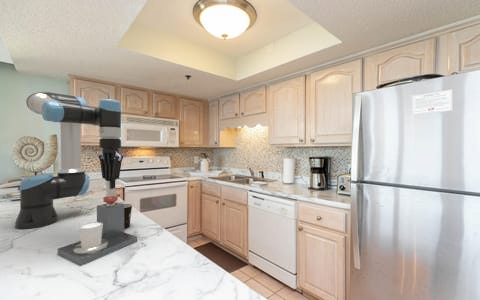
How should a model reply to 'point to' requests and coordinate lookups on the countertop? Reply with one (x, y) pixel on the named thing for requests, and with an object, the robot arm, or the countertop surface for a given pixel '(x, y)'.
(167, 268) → the countertop surface
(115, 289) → the countertop surface
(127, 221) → the coffee mug
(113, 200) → the ram
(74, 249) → the press
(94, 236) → the white tapered cup
